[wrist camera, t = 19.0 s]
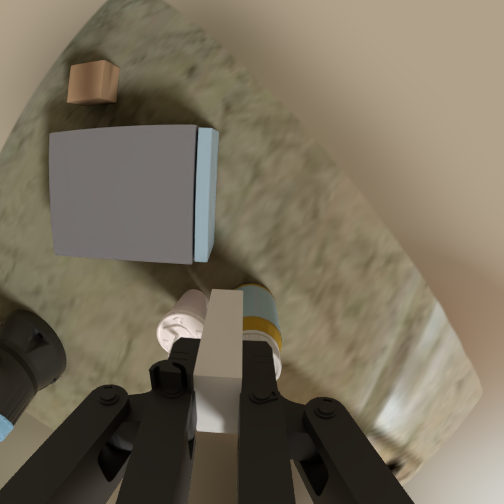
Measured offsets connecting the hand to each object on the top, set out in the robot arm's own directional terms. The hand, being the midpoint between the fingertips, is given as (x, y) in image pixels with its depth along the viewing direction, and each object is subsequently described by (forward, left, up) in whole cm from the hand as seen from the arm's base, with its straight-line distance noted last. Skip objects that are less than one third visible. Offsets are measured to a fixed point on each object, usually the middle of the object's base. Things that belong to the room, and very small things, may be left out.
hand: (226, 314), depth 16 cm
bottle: (+2, -13, -27) cm, 30 cm away
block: (-20, +17, -27) cm, 38 cm away
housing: (-14, +3, -27) cm, 31 cm away
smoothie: (-6, -13, -27) cm, 31 cm away
